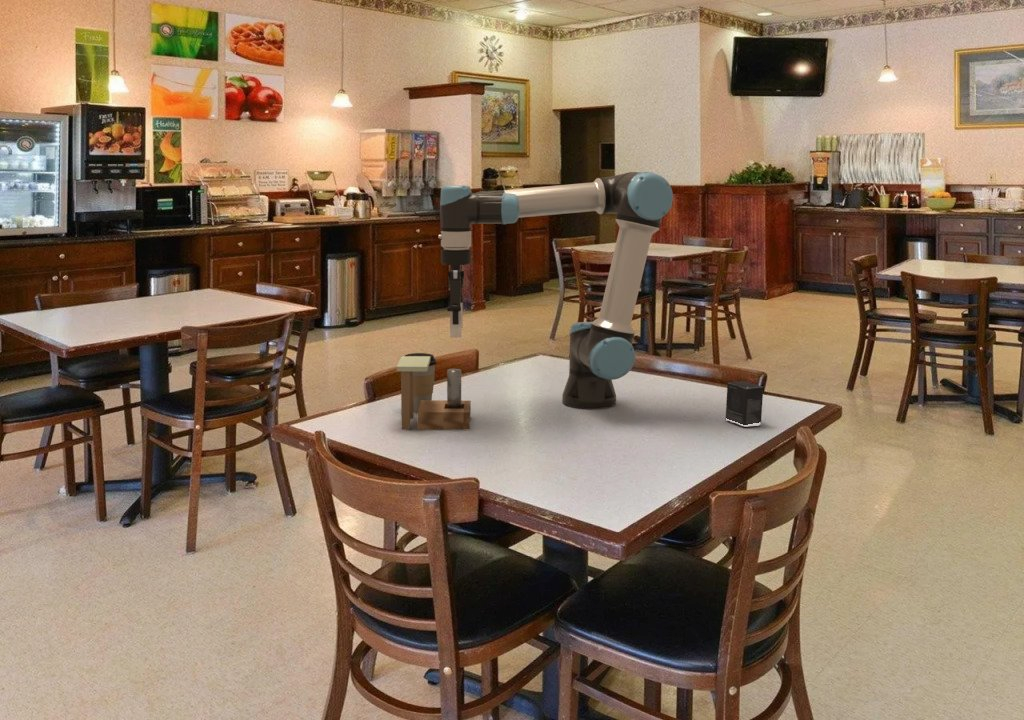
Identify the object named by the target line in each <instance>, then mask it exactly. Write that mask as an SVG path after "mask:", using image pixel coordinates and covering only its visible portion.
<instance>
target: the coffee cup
mask: <svg viewBox="0 0 1024 720" xmlns="http://www.w3.org/2000/svg"><path fill="white" fill-rule="evenodd" d="M404 356H430V364H429V367H428V370H427V372H419V371H413V406H414V414H417V412H418V409H419V405H420V402H421V400H432V399H433V393H434V387H435V386H434V384H435V375H436V373H435V367H436V365H437V359H436V358H435V356H434V354H431V353H425V352H414V353H413V352H412V353H407V354H404Z"/></svg>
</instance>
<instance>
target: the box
mask: <svg viewBox="0 0 1024 720" xmlns="http://www.w3.org/2000/svg"><path fill="white" fill-rule="evenodd" d="M726 386H727V387H726V390H727V391H726V404H725V405H726V406H725V419H726V418H727V419H729V420H732V421H735V422H738V423H740V424H743V425H748V424H753V423H759V422H761V423H762V414H763V413H762V412H763V411H762V410H763V401H764V400H763V397H764V386H761V385H758V384H756V383H751V382H749V381H745V380H739V381H730V382H727V385H726Z"/></svg>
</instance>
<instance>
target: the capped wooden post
mask: <svg viewBox="0 0 1024 720" xmlns="http://www.w3.org/2000/svg"><path fill="white" fill-rule="evenodd" d="M429 364H430V356H405V355H403V356H401V357H400V359H399V361H398V363H397V365H396V372H400V390H401V391H400V393H401V394H400V396H401V397H400V398H401V399H400V401H401V403H400V404H401V405H400V407H401V409H400V410H401V430H411V420H413V419H414V418H415V417H414V414H415V413H414V406H413V371H419V372H427V370H428V367H429Z"/></svg>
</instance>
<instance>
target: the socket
mask: <svg viewBox="0 0 1024 720" xmlns="http://www.w3.org/2000/svg"><path fill="white" fill-rule="evenodd" d="M471 407H472V406H471V400H461V409H447V400H443V399H442V400H441V399H440V400H435V399H433V400H421V402H420V405H419V409H418V412H417V413H416V414H417V430H441V431H442V430H452V431H453V430H456V431H457V430H458V431H459V430H462V431H463V430H464V431H465V430H470V427H471V426H470V425H471V417H472V416H471V414H472V413H471V411H472V409H471Z"/></svg>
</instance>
